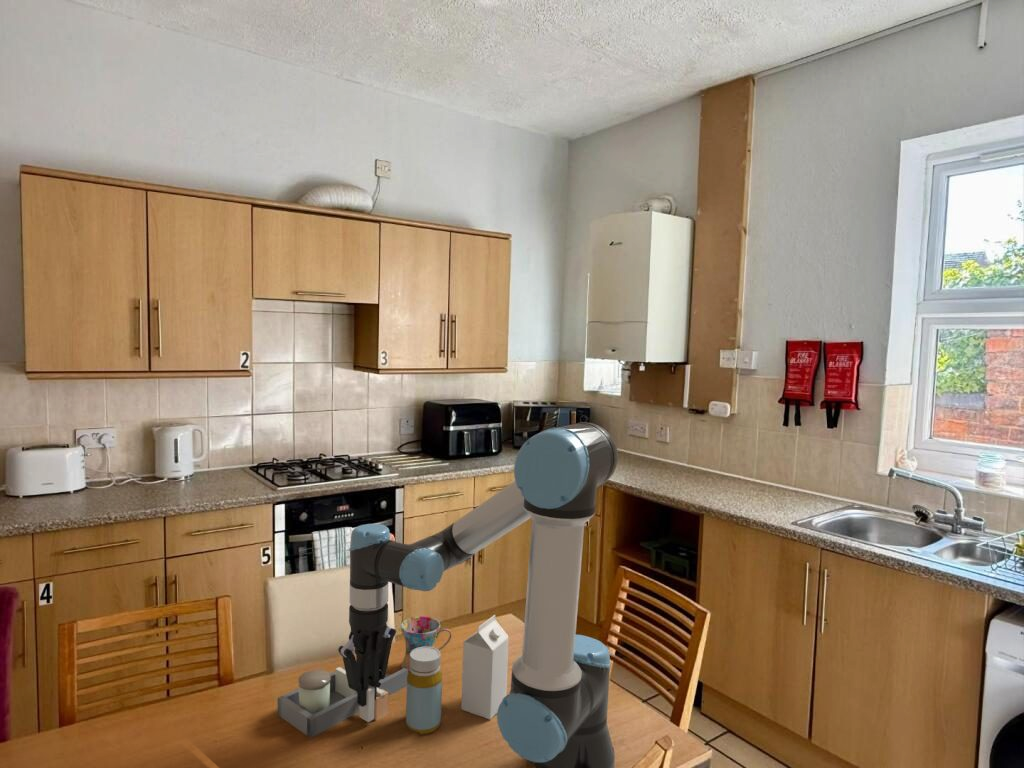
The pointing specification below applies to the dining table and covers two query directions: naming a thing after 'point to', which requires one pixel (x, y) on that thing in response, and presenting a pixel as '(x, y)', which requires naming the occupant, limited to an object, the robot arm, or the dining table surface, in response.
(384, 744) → the dining table surface
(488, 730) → the dining table surface
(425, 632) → the mug
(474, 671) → the milk carton
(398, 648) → the dining table surface
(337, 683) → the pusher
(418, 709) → the bottle
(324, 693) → the jar
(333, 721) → the grey tray
